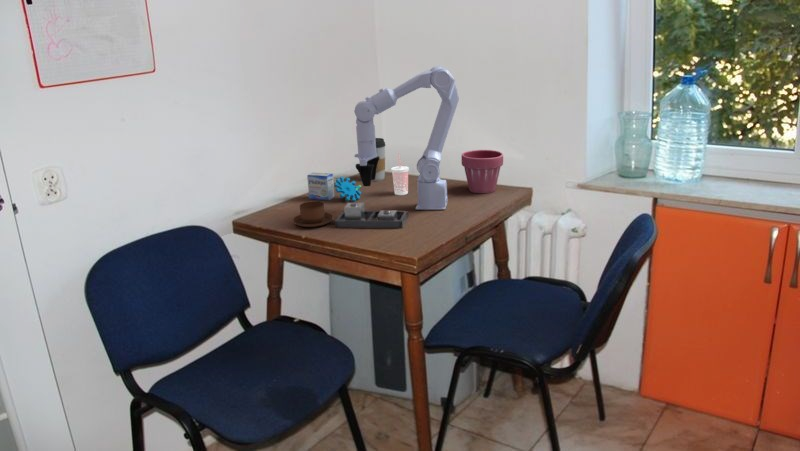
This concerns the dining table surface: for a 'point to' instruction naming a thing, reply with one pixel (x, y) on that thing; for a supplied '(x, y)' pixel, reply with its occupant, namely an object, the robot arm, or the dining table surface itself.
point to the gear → (347, 189)
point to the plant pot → (482, 169)
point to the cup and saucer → (312, 215)
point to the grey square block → (354, 211)
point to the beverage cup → (400, 179)
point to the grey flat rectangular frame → (371, 221)
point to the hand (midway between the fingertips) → (369, 182)
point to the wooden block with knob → (387, 215)
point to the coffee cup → (381, 163)
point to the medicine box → (320, 186)
